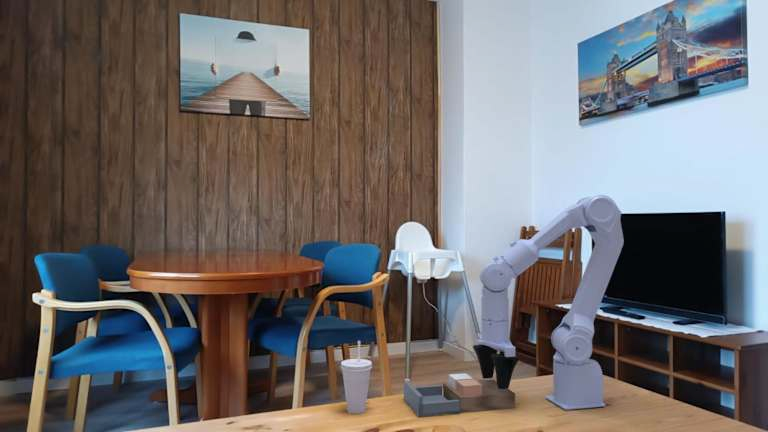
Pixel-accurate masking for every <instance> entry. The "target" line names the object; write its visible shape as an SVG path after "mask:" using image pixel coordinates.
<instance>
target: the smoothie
mask: <svg viewBox="0 0 768 432" xmlns="http://www.w3.org/2000/svg"><path fill="white" fill-rule="evenodd" d="M372 368H373V363H372V361H371V360H369V359H364V358H361V340H357V358H350V359H344V360H342V361H341V363H340V369H341V370H342V379H343V385H344V393H345V395H344V396H345V404H346V411H347V413H348V414H353V415H357V414H363V413H366V409H367V408H366V407H367V399H368V391H369V383H370V377H371V369H372Z"/></svg>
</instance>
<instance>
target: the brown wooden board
mask: <svg viewBox="0 0 768 432" xmlns="http://www.w3.org/2000/svg"><path fill="white" fill-rule="evenodd" d="M476 381H477V382H479V383H480V384H482V395H471V396H463V395H462V394H460V393H459V392H458V391H457V390H456V389H454V388H453V387H452V386H451V385H449V382H444V383H443V382H442V383H443V384H442V395H443V396H444V397H445V398H446V399H447V400H459V401H460V414H461V413H473V412H483V411H484V412H485V411H495V410H506V409H507V410H508V409H516V393H515V392H514V391H513V390H511V389H509V388H508V389H499V388H498V386H497V380H496V379H483V380H476Z"/></svg>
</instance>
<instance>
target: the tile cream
mask: <svg viewBox="0 0 768 432" xmlns="http://www.w3.org/2000/svg"><path fill="white" fill-rule="evenodd" d="M470 379H474V378H473V377H472V376H470V375H469V374H467V373H465V372H464V373H452V374H448V383H449V385H451V386H452V387H453V388H454V389H456V380H470Z"/></svg>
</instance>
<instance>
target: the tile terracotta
mask: <svg viewBox="0 0 768 432" xmlns="http://www.w3.org/2000/svg"><path fill="white" fill-rule="evenodd" d="M477 381H478V380H476V379H475V378H473V379H470V380H456V390H457V391H458V392H459V393H460V394H462V395H463V396H471V395H482V384H480V383H479V382H477Z"/></svg>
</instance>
